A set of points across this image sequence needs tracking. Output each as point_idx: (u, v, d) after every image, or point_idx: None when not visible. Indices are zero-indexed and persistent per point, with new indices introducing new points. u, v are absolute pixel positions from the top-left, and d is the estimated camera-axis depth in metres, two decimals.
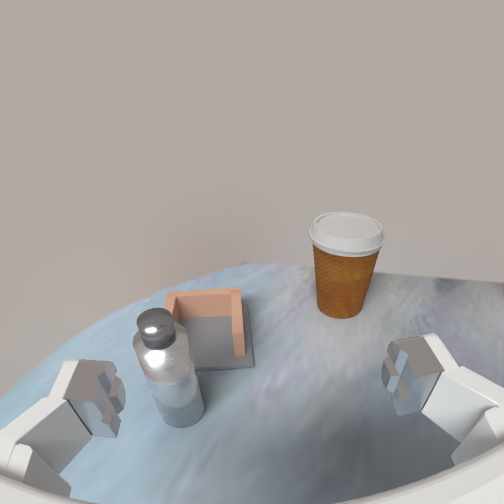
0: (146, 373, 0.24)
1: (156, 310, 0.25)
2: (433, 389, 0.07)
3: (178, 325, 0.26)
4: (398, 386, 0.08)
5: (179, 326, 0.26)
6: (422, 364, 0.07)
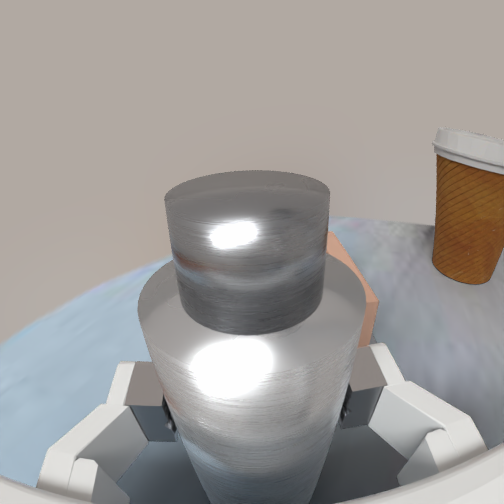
0: (189, 429, 0.06)
1: (244, 174, 0.06)
2: (377, 404, 0.07)
3: None
4: None
5: None
6: (362, 377, 0.07)
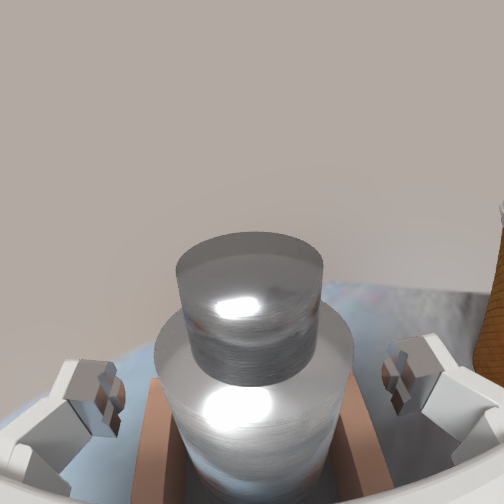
0: (200, 456, 0.07)
1: (246, 238, 0.07)
2: (433, 389, 0.07)
3: None
4: (398, 386, 0.08)
5: None
6: (422, 364, 0.07)
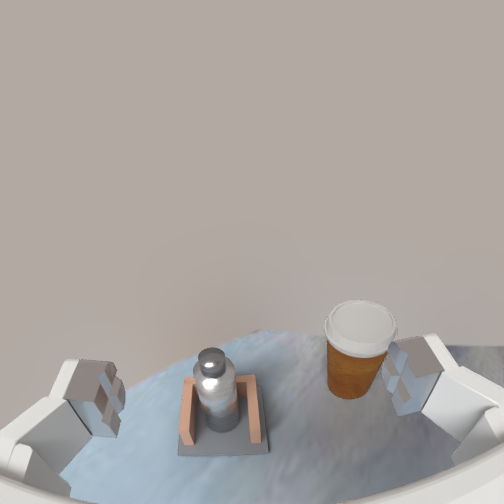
0: (202, 394, 0.33)
1: (211, 349, 0.34)
2: (433, 389, 0.07)
3: (226, 358, 0.35)
4: (398, 386, 0.08)
5: (227, 359, 0.35)
6: (422, 364, 0.07)
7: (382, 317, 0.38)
